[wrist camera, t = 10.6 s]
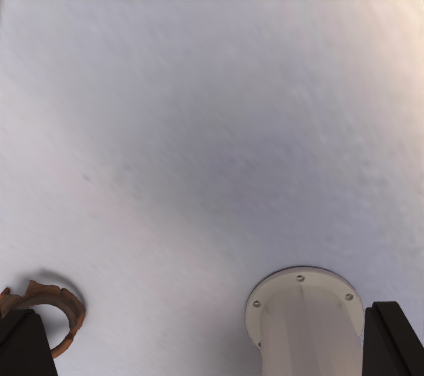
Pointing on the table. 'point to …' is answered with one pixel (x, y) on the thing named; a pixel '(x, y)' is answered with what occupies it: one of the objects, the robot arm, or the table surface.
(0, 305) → the brown curved loop
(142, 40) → the table surface
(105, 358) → the table surface
